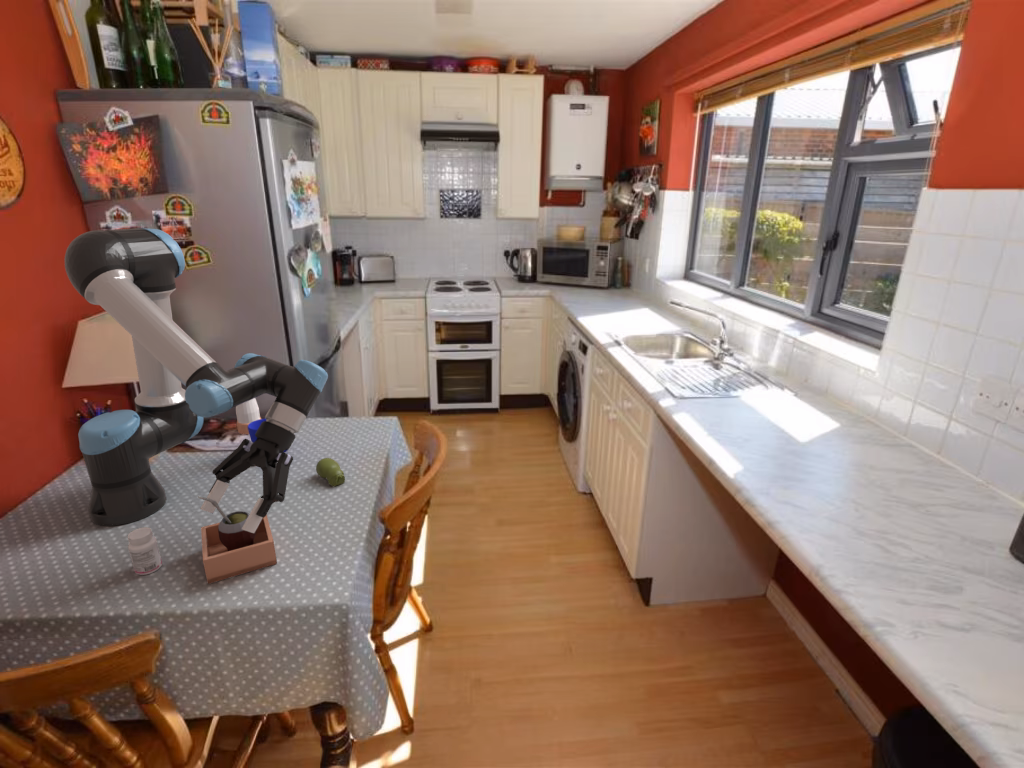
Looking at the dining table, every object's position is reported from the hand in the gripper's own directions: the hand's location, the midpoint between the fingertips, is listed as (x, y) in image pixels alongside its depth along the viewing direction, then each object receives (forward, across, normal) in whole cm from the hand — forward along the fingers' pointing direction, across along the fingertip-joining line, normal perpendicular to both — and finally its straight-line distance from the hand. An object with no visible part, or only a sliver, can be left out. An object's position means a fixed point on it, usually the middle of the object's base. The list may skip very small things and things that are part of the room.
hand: (226, 521), depth 107 cm
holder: (+6, 0, -8) cm, 10 cm away
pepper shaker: (-24, +56, -38) cm, 71 cm away
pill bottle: (+14, +13, 0) cm, 19 cm away
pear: (-17, +9, -31) cm, 37 cm away
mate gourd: (+5, 0, -7) cm, 9 cm away
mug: (-18, +34, -32) cm, 50 cm away
